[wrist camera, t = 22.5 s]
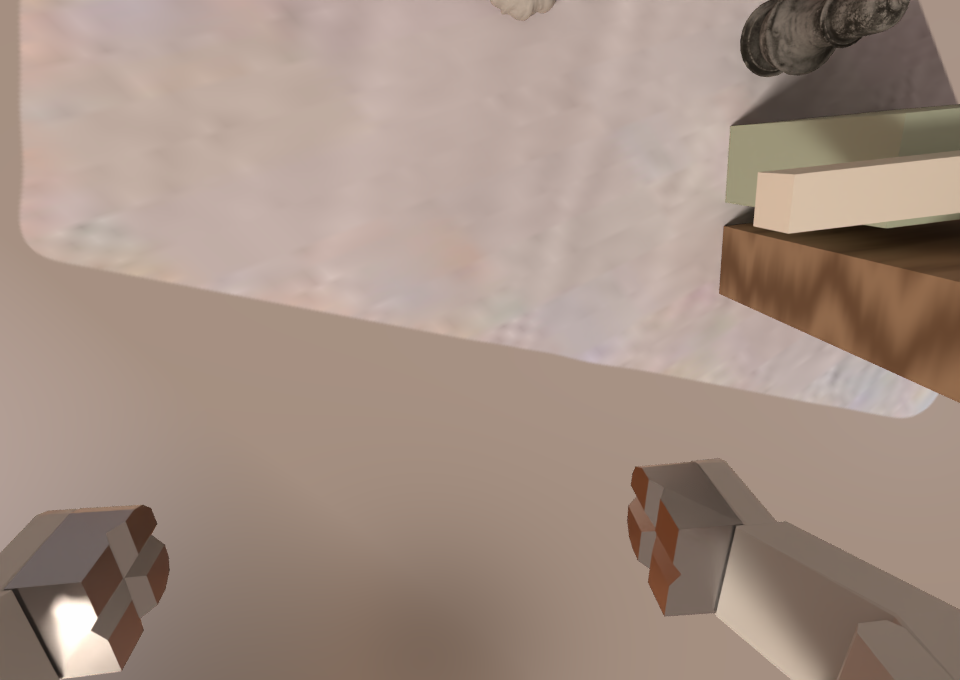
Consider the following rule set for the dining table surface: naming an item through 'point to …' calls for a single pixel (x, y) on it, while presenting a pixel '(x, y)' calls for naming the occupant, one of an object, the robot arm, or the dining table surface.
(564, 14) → the dining table surface
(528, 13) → the garlic
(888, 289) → the tall stand
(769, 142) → the olive grey block
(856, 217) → the beige rectangular bar
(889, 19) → the stone chess bishop
